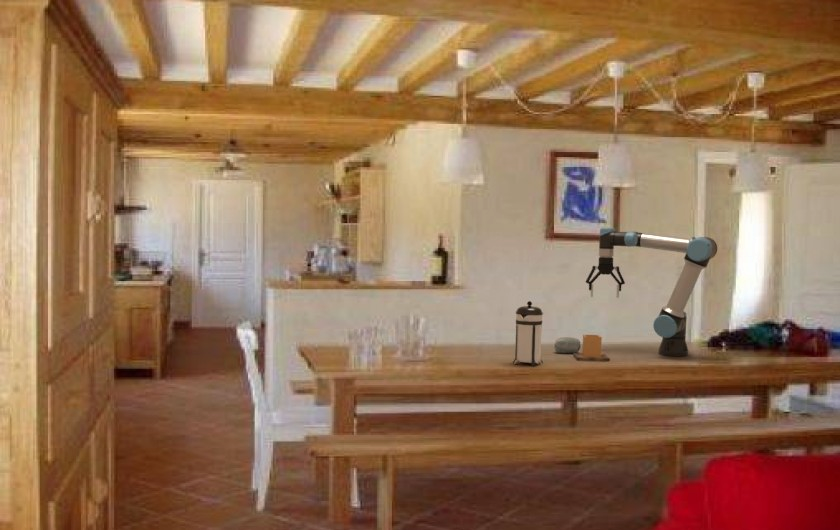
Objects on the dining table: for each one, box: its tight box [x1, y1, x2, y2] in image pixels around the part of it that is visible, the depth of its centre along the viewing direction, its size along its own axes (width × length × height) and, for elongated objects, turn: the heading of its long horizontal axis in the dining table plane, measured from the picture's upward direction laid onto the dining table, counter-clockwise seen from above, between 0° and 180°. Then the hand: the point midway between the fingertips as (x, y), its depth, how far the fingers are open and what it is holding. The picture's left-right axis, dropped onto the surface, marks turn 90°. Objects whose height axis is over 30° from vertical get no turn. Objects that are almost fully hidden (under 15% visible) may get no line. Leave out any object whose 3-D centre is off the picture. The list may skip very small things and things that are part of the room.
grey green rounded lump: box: [553, 336, 581, 354], centre depth 465 cm, size 14×10×10 cm
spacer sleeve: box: [581, 334, 603, 357], centre depth 447 cm, size 8×8×10 cm
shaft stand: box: [573, 352, 611, 362], centre depth 447 cm, size 16×14×8 cm
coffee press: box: [512, 300, 544, 367], centre depth 427 cm, size 17×16×30 cm
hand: (604, 297), depth 474 cm, fingers open, 13 cm apart
